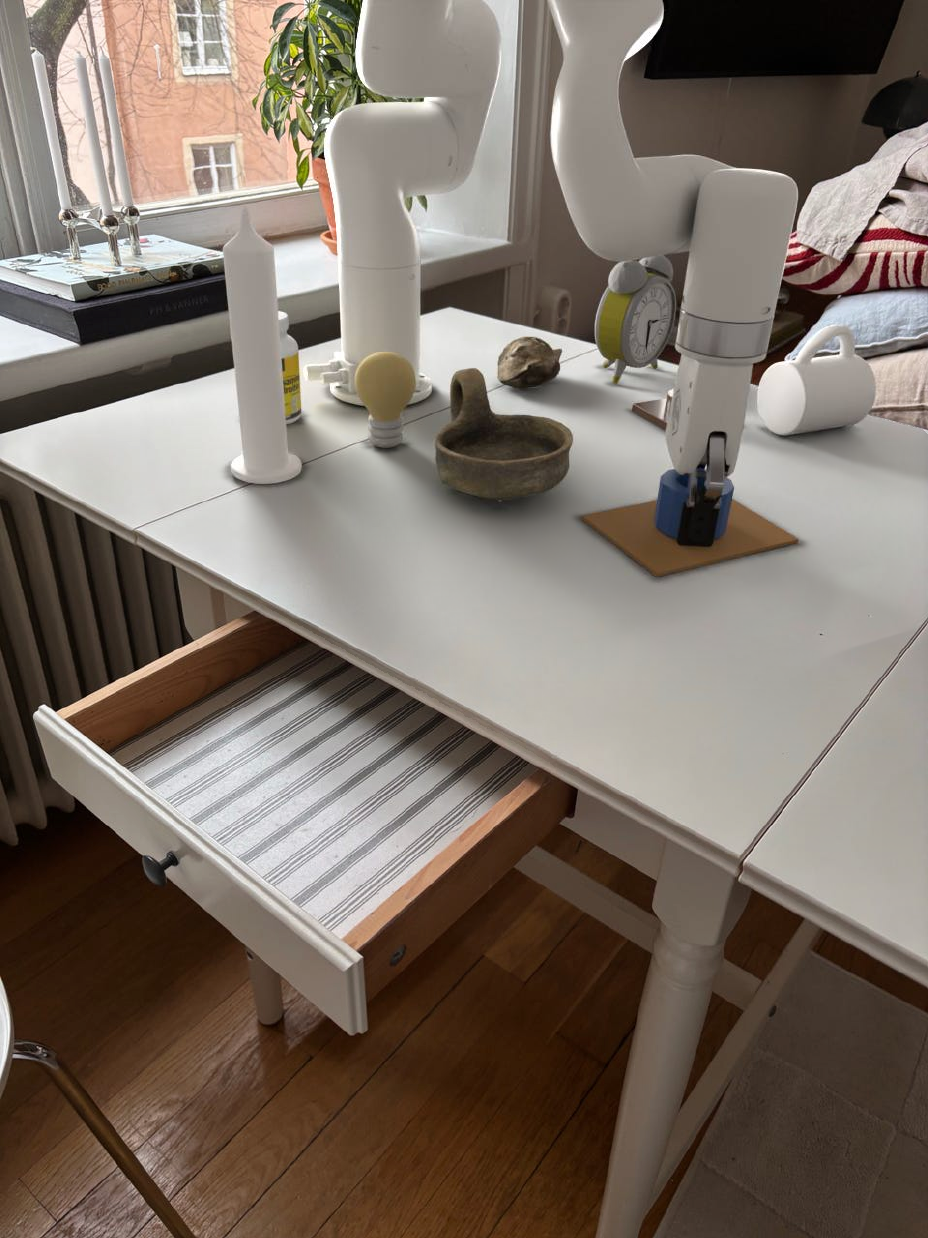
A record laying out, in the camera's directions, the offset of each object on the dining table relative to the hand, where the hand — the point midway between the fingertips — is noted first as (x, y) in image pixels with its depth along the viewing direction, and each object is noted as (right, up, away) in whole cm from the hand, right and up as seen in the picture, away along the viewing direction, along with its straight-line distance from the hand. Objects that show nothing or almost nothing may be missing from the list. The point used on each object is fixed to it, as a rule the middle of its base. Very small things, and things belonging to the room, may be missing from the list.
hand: (688, 525), depth 89 cm
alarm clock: (0, +24, +39) cm, 46 cm away
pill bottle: (-43, +14, +21) cm, 50 cm away
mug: (+20, +14, +24) cm, 34 cm away
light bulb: (-30, +10, +16) cm, 35 cm away
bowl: (-18, +5, +8) cm, 20 cm away
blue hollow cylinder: (0, 0, 0) cm, 0 cm away
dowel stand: (+5, +15, +25) cm, 30 cm away
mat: (0, -1, 0) cm, 1 cm away
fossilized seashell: (-13, +22, +35) cm, 43 cm away
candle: (-41, +6, +9) cm, 43 cm away
